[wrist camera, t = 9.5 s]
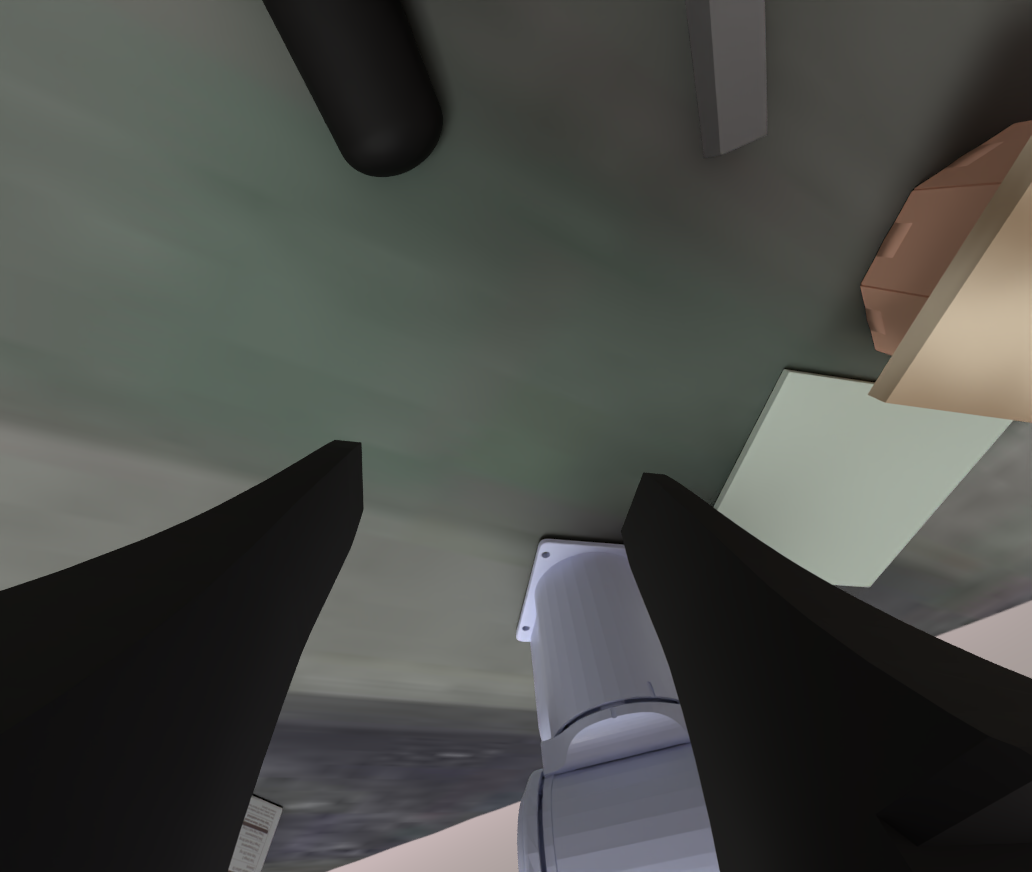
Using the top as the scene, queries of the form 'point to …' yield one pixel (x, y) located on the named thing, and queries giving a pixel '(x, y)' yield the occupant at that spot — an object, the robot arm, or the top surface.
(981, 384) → the lid
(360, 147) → the door handle
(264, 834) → the supplement box
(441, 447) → the top surface
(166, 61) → the top surface
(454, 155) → the top surface
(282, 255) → the top surface
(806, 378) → the mat
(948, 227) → the bowl
